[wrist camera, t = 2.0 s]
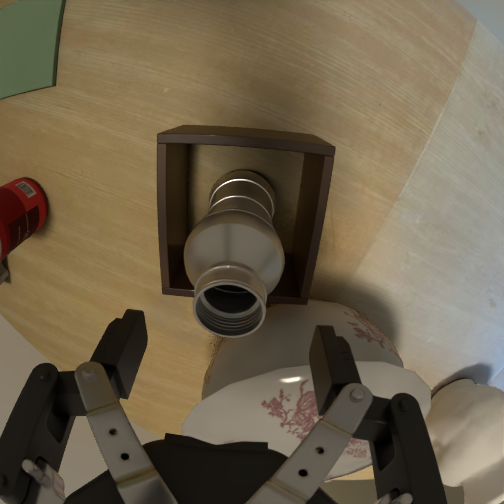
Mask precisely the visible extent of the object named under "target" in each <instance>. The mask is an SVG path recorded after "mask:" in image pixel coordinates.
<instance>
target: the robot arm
mask: <svg viewBox="0 0 504 504" xmlns="http://www.w3.org/2000/svg"><path fill="white" fill-rule="evenodd" d="M147 341H148V336H147V329H146V323H145V316H144V312H143V311H141V310H133V309H127V310H126V312H125V314H124V316H123V318H122V319H120V318H116V319H115V320H114V321H112V322H111V323H110V324H109V325H108V327H107V329H106V331H105V333H104V334H103V336H102V339H101V340H100V342H99V344H98V346H97V348H96V349H95V351H94V353H93V355H92V357H91V359H90V361H89V362H85V363H83V364H81V365H80V366H78V367H77V369H76V371H62V372H58V370H57V368H56V366H54V365H53V364H50V363H42V364H39V365H38V366H36V367H35V368H34V369H33V370H32V372H31V374H30V376H29V378H28V380H27V382H26V384H25V386H24V388H23V389H22V391H21V394H20V396H19V398H18V400H17V402H16V404H15V406H14V408H13V410H12V413H11V415H10V417H9V419H8V421H7V423H6V426H5V428H4V431H3V433H2V435H1V438H0V499H2V500H3V501H4V502H5V503H6V504H338V503H336V502H335V501H334V500H333V499H332V498H331V497H330V496H329V495H328V494H327V493H325V492H324V491H323V490H322V489H321V488H320V487H319V486H320V485H321V484H322V482H323V481H324V479H325V478H326V476H327V475H328V474H329V472H330V471H331V469H332V468H333V466H334V465H335V463H336V462H337V460H338V459H339V457H340V456H341V454H342V453H343V451H344V450H345V448H346V446H347V445H348V443H349V442H350V440H351V438H355V439H360V440H366V441H368V442H369V447H370V453H371V459H372V465H373V471H374V478H375V485H376V491H377V499H378V501H376V502H375V503H374V504H447V500H446V496H445V491H444V487H443V483H442V479H441V475H440V472H439V468H438V464H437V460H436V457H435V453H434V450H433V447H432V443H431V440H430V437H429V433H428V430H427V427H426V424H425V421H424V418H423V415H422V412H421V409H420V406H419V403H418V401H417V400H416V398H415V397H413V396H412V395H410V394H408V393H398V394H395V395H394V396H393V397H392V399H387V398H382V397H377V396H374V395H372V393H371V391H370V390H369V389H368V388H367V387H366V386H364V385H362V382H361V379H360V376H359V372H358V369H357V366H356V363H355V360H354V357H353V354H352V351H351V348H350V345H349V343H348V342H347V341H346V340H345V338H344V337H343V336H336V334H335V330H334V327H333V326H332V325H316V327H315V331H314V335H313V338H312V342H311V346H310V350H309V363H310V369H311V374H312V380H313V386H314V392H315V398H316V404H317V410H318V416H323V417H322V418H320V419H319V420H318V421H317V422H316V424H315V425H314V426H313V428H312V429H311V430H310V432H309V433H308V434H307V435H306V437H305V438H304V439H303V440H302V442H301V443H300V444H299V445H298V447H297V448H296V449H295V450H294V452H293V453H292V454H291V455H290V456H289V457H287V456H286V455H284V454H282V453H280V452H278V451H275V450H272V449H268V442H250V441H240V442H234V443H227V444H219V445H215V444H211V443H208V442H205V441H202V440H199V439H196V438H193V437H190V436H183V435H176V434H169V433H166V434H165V439H163V440H157V441H152V442H149V443H146V444H144V445H141V443H140V441H139V440H138V437H137V436H136V434H135V432H134V430H133V428H132V426H131V424H130V422H129V420H128V418H127V416H126V414H125V412H124V410H123V408H122V406H121V404H120V402H119V400H120V398H123V399H128V398H129V395H130V392H131V389H132V386H133V383H134V380H135V377H136V374H137V372H138V369H139V366H140V363H141V361H142V358H143V355H144V352H145V350H146V347H147ZM76 416H87V419H88V422H89V424H90V427H91V430H92V432H93V435H94V437H95V439H96V442H97V444H98V447H99V449H100V451H101V454H102V456H103V458H104V460H105V462H106V464H107V466H108V470H107V471H105V472H104V473H102V474H100V475H99V476H98V477H96V478H95V479H93V480H92V481H90V482H88V483H87V484H85V485H84V486H82V487H81V488H79V489H78V490H76V491H75V492H73V493H72V494H70V495H69V496H68V497H67V498H65V495H64V482H63V479H62V478H61V476H60V475H59V474H58V471H59V468H60V464H61V461H62V458H63V454H64V451H65V448H66V445H67V441H68V438H69V435H70V432H71V429H72V426H73V423H74V420H75V417H76Z"/></svg>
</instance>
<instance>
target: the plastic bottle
mask: <svg viewBox="0 0 504 504" xmlns="http://www.w3.org/2000/svg"><path fill="white" fill-rule="evenodd" d="M275 207H276V198H275V195H274V191H273V190H272V188H271V186H270V185H269V184H268V183H267V181H266V180H265V179H263V178H262V177H261V176H259V175H257V174H256V173H253V172H250V171H243V170H241V171H234V172H231V173H228V174H226V175H224V176H222V177H221V178H220V179H219V180H218V181H217V182H216V183H215V184H214V185H213V187H212V189H211V192H210V196H209V212H208V213H207V215H206V216H205V217H204V218H203V219H202V220H201V221H200V222H199V223H198V224H197V225H196V227H195V228H194V229H193V230H192V232H191V233H190V235H189V237H188V239H187V241H186V243H185V248H184V264H185V269H186V273H187V276H188V278H189V280H190V282H191V283H192V285H193V286H194V287H195V288H194V300H193V312H194V316H195V318H196V320H197V321H198V322H199V324H200V325H201V326H202V327H203V328H205V329H206V330H207V331H209V332H211V333H213V334H215V335H218V336H222V337H228V338H238V337H243V336H246V335H249V334H251V333H253V332H254V331H256V330H257V329H258V328H259V327H260V326H261V325H262V323H263V321H264V319H265V314H266V300H267V295H269V294H270V293H271V292H272V291H273V290H274V288H275V287H276V285H277V284H278V282H279V280H280V277H281V275H282V273H283V270H284V264H285V257H284V251H283V248H282V244H281V241H280V239H279V237H278V235H277V233H276V231H275V229H274V227H273V224H272V219H273V216H274V213H275Z"/></svg>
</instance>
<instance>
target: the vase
mask: <svg viewBox="0 0 504 504" xmlns="http://www.w3.org/2000/svg"><path fill="white" fill-rule="evenodd" d="M425 424H426V427H427V430H428V433H429V437H430V440H431V443H432V447H433V450H434V453H435V457H436V460H437V464H438V468H439V472H440V475H441V479H442V483H443V484H445V485H448V486H451V487H456V486H463V488H464V494H465V498H464V504H499V503H501V502H502V501H503V500H504V392H503V391H502V390H500V389H498V388H496V387H493V386H489V385H481V384H474V382H473V381H472V380H471V379H461V380H457V381H454V382H452V383H451V384H449V385H446V386H445V387H443V388H442V389H440V390H439V391H438V392H437V393H436V394H435V395H434V396H433V398H432V399H431V408H430V412H429V414H428V415H427V417H426V419H425Z"/></svg>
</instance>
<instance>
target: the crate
mask: <svg viewBox="0 0 504 504" xmlns="http://www.w3.org/2000/svg"><path fill="white" fill-rule="evenodd" d="M157 143H158V144H157V209H158V235H159V253H160V269H161V282H162V294H165V295H175V296H185V297H194V288H195V287H194V286H193V285H192V283H191V282H190V280H189V278H188V276H187V273H186V269H185V264H184V248H185V243H186V241H187V239H188V162H189V144H205V145H225V146H240V147H254V148H265V149H276V150H286V151H295V152H303V153H305V154H304V162H303V170H302V178H301V185H300V193H299V200H298V207H297V215H296V222H295V228H294V235H293V242H292V248H291V254H290V253H284V257H285V264H284V270H283V273H282V275H281V277H280V280H279V282H278V284H277V285H276V287H275V288H274V290H273V291H272V292H271V293H270V294H269V295H267V300H266V303H275V304H293V305H307V303H308V298H309V294H310V289H311V285H312V280H313V275H314V270H315V265H316V260H317V255H318V250H319V245H320V239H321V234H322V229H323V223H324V217H325V212H326V206H327V200H328V194H329V188H330V182H331V175H332V169H333V162H334V157H333V156H334V155H335V148H336V147H335V146H333V145H331V144H329V143H328V142H326V141H324V140H322V139H320V138H319V137H317V136H315V135H311V134H303V133H295V132H286V131H277V130H266V129H255V128H242V127H225V126H202V125H182V126H179V127H176V128H173V129H170V130H167V131H164V132H161V133H158V134H157Z"/></svg>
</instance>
